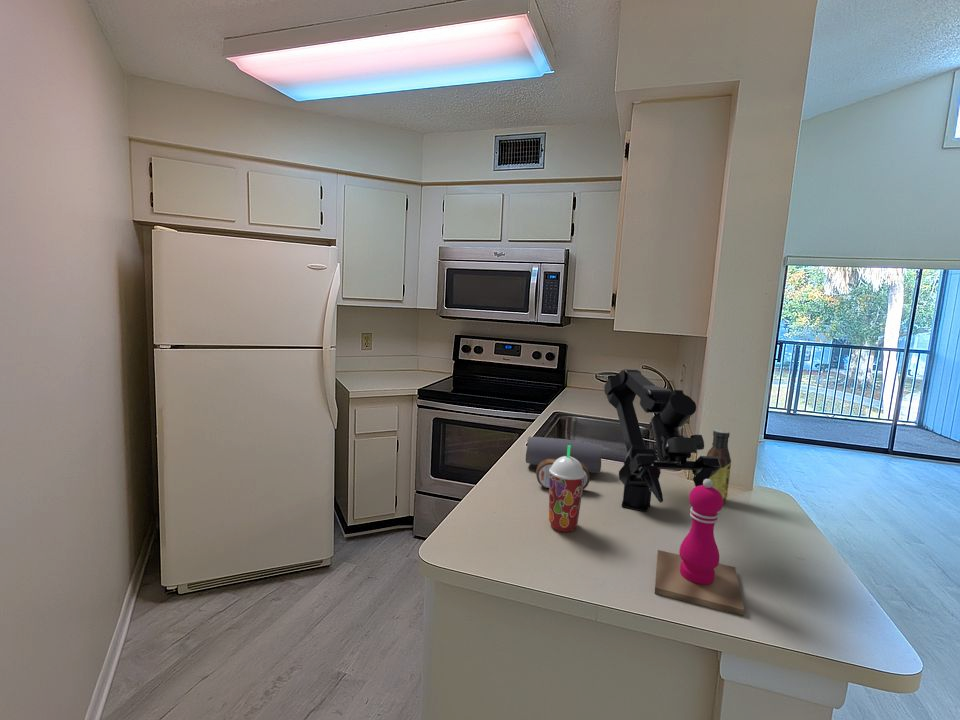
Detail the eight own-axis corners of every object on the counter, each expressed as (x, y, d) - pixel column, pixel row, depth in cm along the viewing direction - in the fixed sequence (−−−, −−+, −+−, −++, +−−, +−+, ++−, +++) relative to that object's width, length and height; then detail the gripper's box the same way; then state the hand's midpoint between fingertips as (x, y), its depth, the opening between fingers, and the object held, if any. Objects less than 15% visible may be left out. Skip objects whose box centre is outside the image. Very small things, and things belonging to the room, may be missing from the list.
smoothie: (584, 523, 120) (591, 444, 117) (575, 538, 113) (582, 454, 110) (550, 515, 124) (556, 437, 121) (540, 529, 116) (546, 447, 113)
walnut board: (654, 593, 93) (655, 587, 93) (657, 555, 107) (658, 549, 107) (743, 616, 88) (744, 609, 88) (734, 572, 102) (735, 567, 102)
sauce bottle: (729, 506, 134) (738, 435, 131) (704, 503, 135) (713, 433, 132) (722, 497, 141) (731, 429, 138) (699, 494, 142) (707, 426, 139)
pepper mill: (678, 561, 103) (689, 469, 100) (717, 572, 100) (729, 477, 97) (675, 579, 96) (686, 481, 93) (716, 590, 93) (729, 489, 90)
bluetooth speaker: (599, 470, 157) (602, 439, 156) (599, 480, 148) (602, 448, 147) (528, 461, 162) (530, 431, 161) (524, 470, 153) (526, 439, 152)
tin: (588, 489, 141) (590, 461, 140) (589, 494, 138) (591, 465, 137) (535, 484, 143) (537, 456, 141) (535, 489, 139) (537, 460, 138)
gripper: (639, 418, 108) (652, 487, 99) (722, 421, 109) (743, 490, 100) (624, 441, 117) (635, 506, 108) (701, 444, 118) (718, 509, 109)
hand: (682, 502), depth 106 cm, fingers open, 9 cm apart
